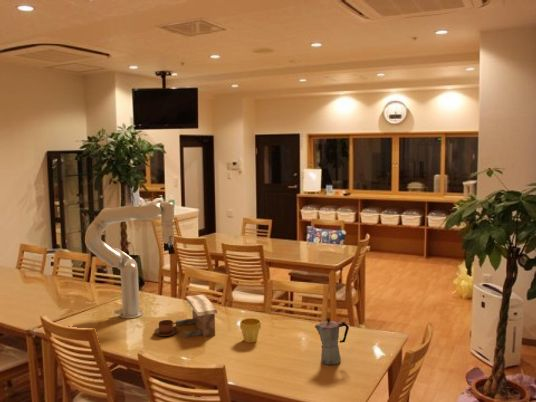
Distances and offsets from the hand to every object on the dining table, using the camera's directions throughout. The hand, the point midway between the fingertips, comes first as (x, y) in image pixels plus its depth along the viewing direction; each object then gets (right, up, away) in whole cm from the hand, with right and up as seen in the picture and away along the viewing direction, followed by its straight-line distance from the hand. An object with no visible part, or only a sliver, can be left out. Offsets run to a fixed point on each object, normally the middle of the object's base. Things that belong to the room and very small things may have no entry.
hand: (168, 252), depth 295 cm
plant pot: (+49, -40, -41) cm, 76 cm away
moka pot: (+87, -43, -66) cm, 117 cm away
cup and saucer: (+5, -40, -30) cm, 50 cm away
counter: (+19, -39, -25) cm, 50 cm away
